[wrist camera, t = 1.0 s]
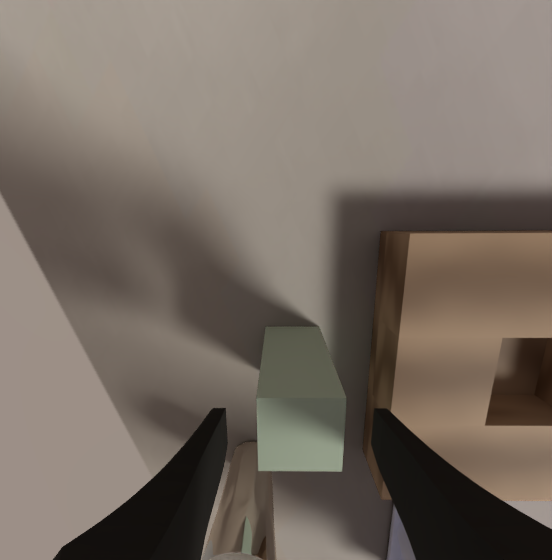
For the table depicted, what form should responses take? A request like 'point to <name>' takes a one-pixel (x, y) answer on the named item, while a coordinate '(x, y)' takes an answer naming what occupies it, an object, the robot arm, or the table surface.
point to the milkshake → (244, 512)
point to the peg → (299, 403)
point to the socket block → (467, 353)
